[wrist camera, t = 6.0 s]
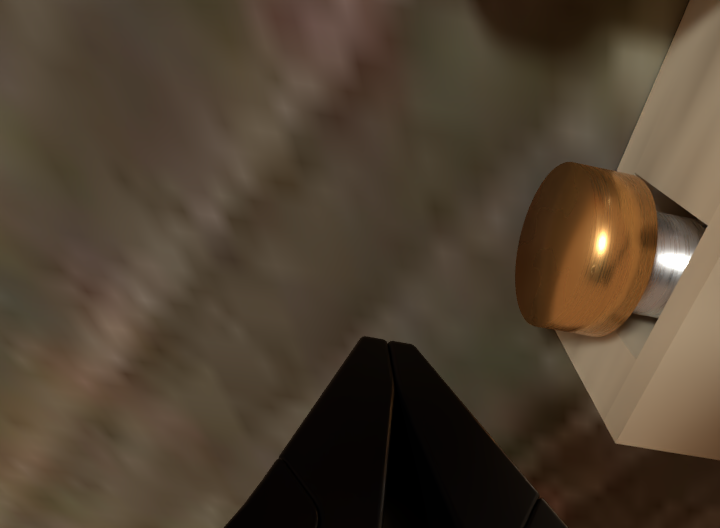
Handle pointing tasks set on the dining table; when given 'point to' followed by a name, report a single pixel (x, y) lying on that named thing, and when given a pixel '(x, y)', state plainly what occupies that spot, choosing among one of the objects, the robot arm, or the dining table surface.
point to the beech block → (700, 277)
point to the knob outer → (598, 251)
